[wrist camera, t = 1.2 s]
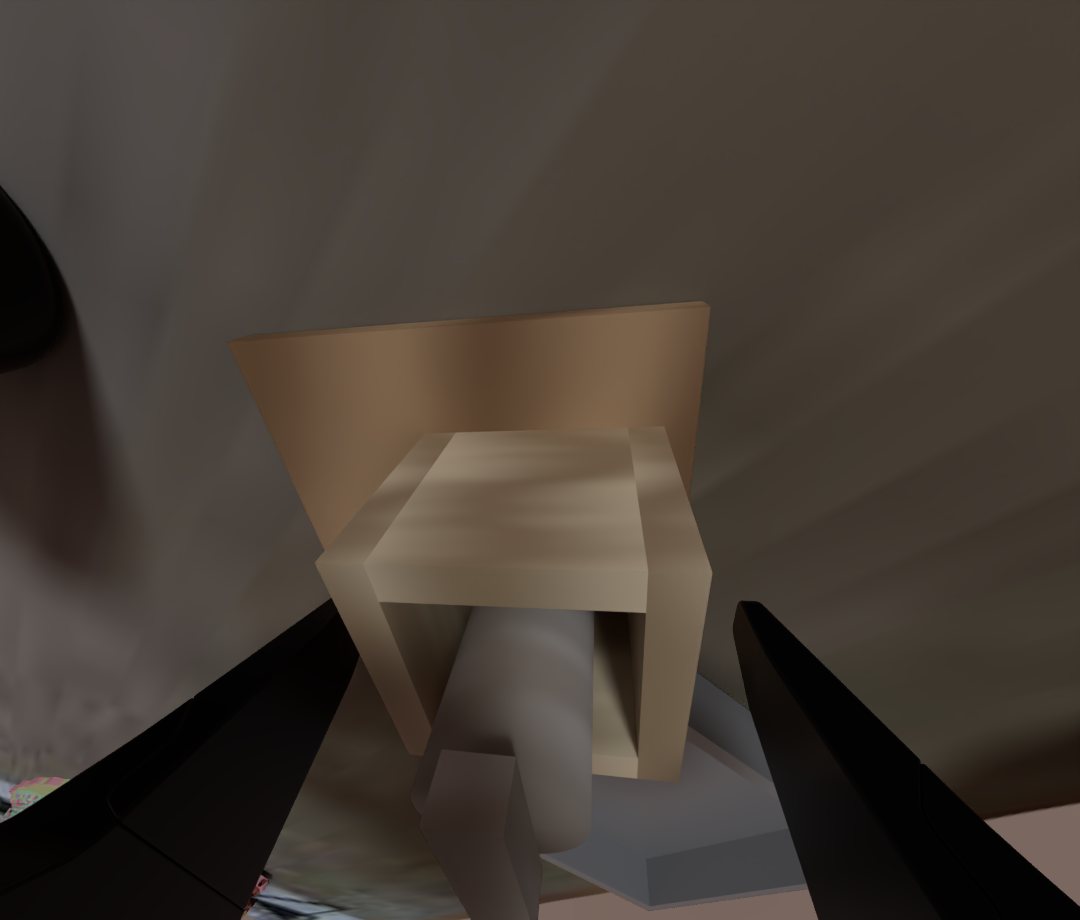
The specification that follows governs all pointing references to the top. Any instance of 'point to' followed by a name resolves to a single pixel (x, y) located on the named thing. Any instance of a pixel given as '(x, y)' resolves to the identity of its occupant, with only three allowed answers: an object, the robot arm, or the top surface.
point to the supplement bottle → (24, 293)
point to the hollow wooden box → (533, 575)
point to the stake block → (492, 632)
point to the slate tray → (692, 821)
